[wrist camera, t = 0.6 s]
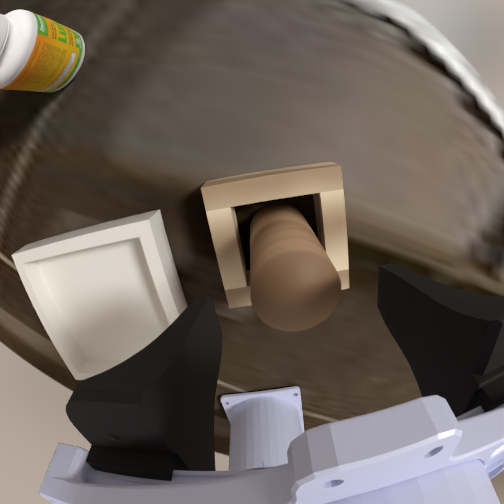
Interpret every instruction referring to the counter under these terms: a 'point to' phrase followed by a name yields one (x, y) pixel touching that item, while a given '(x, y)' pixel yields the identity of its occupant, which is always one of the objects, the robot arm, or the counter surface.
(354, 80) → the counter surface
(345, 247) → the collar
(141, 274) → the tray
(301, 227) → the wooden dowel
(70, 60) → the supplement bottle
